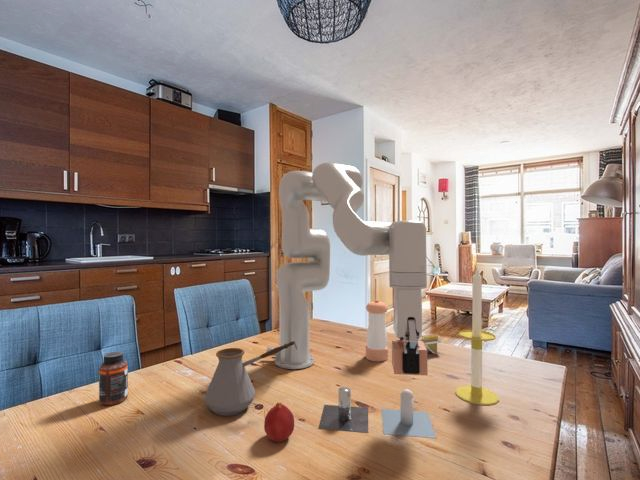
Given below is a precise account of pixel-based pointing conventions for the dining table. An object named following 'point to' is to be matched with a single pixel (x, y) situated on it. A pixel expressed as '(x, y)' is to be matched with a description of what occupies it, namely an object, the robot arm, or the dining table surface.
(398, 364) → the collar
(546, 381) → the dining table surface
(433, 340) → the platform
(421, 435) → the blue peg base
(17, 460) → the dining table surface
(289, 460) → the dining table surface
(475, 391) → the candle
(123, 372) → the supplement bottle
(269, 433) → the onion
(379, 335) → the salt shaker
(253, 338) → the dining table surface
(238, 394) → the coffee pot
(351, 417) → the stand
